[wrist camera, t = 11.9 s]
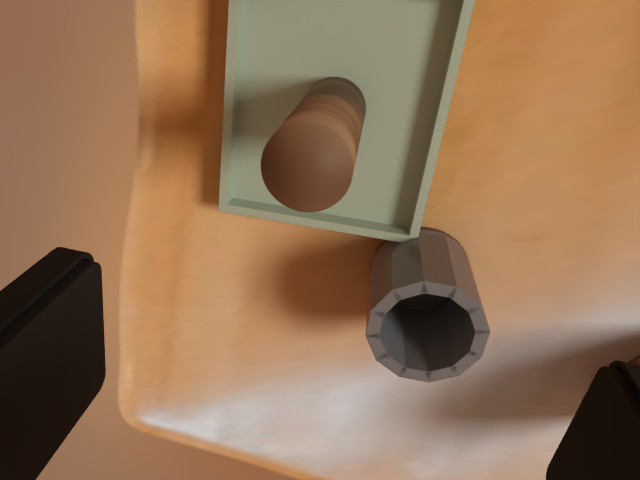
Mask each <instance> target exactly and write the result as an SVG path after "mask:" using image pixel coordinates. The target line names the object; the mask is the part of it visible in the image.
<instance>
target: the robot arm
mask: <svg viewBox="0 0 640 480" xmlns="http://www.w3.org/2000/svg"><path fill="white" fill-rule="evenodd" d="M101 275H102V272H101V266H100V264H99V263H97V262H94V259H93V257H92V255H91V254H89V253H87V252H82V251H77V250H72V249H67V248H63V247H57V248H56V249H54V250H52V251H51V252H50V253H48V254H47V255H46V256H45V257H43V258H42V259H41V260H39V261H38V262H37V263H36V264H34V265H33V266H32V267H30V268H29V269H28V270H27V271H25V272H24V273H23V274H22V275H20V276H19V277H18V278H16V279H15V280H14V281H13V282H11V283H10V284H9V285H7V286H6V287H5V288H4V289H2V290H1V291H0V480H36V478H37V477H38V476H39V474H40V473H41V471H42V470H43V469H44V467H45V466H46V465H47V463H48V462H49V460H50V459H51V458H52V456H53V455H54V453H55V452H56V451H57V449H58V448H59V446H60V445H61V444H62V442H63V441H64V439H65V438H66V437H67V435H68V434H69V433H70V431H71V430H72V428H73V427H74V426H75V424H76V423H77V421H78V420H79V418H80V417H81V416H82V415H83V413H84V412H85V410H86V409H87V408H88V406H89V405H90V403H91V402H92V401H93V399H94V398H95V397H96V395H97V394H98V392H99V391H100V389H101V387H102V385H103V382H104V379H105V372H106V371H105V370H106V369H105V346H104V321H103V297H102V276H101ZM546 480H640V365H637V364H632V363H627V362H622V361H614V362H612V363H611V364H610V365H609V366H608V367H606V366H604V367H601V368H600V369H599V370H598V372H597V373H596V375H595V377H594V379H593V381H592V383H591V385H590V387H589V389H588V391H587V393H586V395H585V397H584V398H583V400H582V402H581V404H580V406H579V408H578V410H577V412H576V414H575V416H574V418H573V420H572V421H571V423H570V425H569V427H568V429H567V431H566V433H565V435H564V437H563V439H562V441H561V443H560V444H559V446H558V448H557V450H556V452H555V454H554V456H553V458H552V460H551V462H550V464H549V466H548V468H547V473H546Z"/></svg>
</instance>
